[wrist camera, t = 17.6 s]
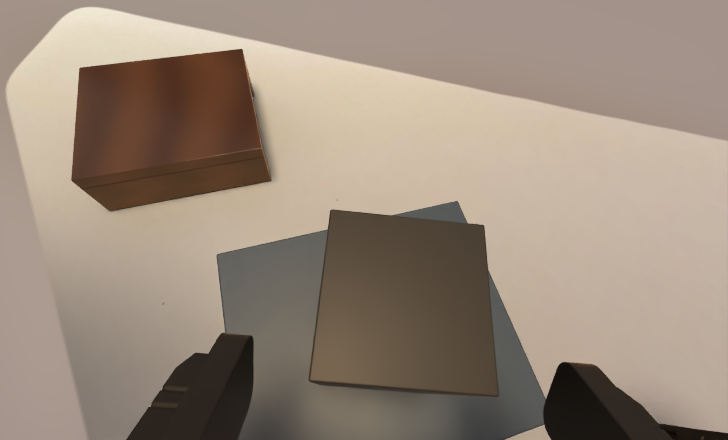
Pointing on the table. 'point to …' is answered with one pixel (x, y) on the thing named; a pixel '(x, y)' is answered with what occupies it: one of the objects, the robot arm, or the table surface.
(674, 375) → the table surface
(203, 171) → the brown wooden box
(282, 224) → the table surface
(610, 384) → the robot arm
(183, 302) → the table surface
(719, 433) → the portable radio
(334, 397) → the grey step stool
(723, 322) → the table surface
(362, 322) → the black block
